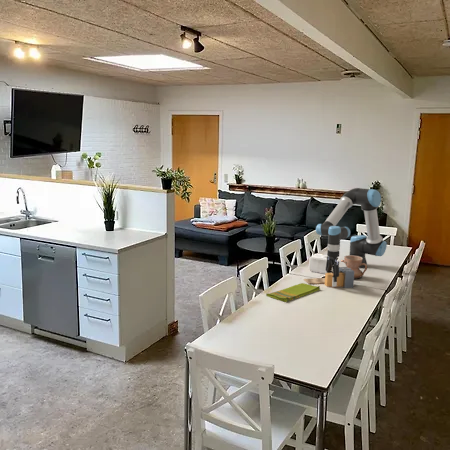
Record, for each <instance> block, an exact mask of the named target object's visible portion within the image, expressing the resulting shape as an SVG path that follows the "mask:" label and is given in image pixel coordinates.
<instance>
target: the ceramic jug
mask: <svg viewBox="0 0 450 450" xmlns="http://www.w3.org/2000/svg"><path fill="white" fill-rule="evenodd" d="M362 259H363V258H362V257H359V256H353V255H349V254H348V255H345V256H344V259H341V260H340V263H344V264H345V267H348V268H351V269H352V270H353V271H354V280H357V279H360V278H362V277H363V276H364V274H365V273H366V271H367V270H368V264H367V265H366V264H365V263H362ZM361 265H364V266H365V268H364V270H363V271H362V270H361V268H359V267H360V266H361Z"/></svg>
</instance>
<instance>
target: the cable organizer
mask: <svg viewBox="0 0 450 450" xmlns="http://www.w3.org/2000/svg"><path fill="white" fill-rule="evenodd" d="M327 257H329V256H327V254H321V253H315V254H313V255H311V256H309V259H308V270H309V271H310V272H311V273H320V274H322V275H325V273H327V271H326V263H327Z"/></svg>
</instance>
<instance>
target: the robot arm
mask: <svg viewBox="0 0 450 450" xmlns="http://www.w3.org/2000/svg"><path fill="white" fill-rule="evenodd" d="M381 203H382V196H381V193H380V192H379V191H378V189H373V188H361V187H354V188H351V189H350V190H348V191H346V192H345V193H344V194H343V195H342V196H340V199H339V202H338V203H337V205H336V206H335V208H333V210H332V211H331V213H330V214H329V216H327V217H326V220H325V221H324V222H323V223H318V224H317V225H316V226H315V232H316V234H317V235H319V236H322V237H328V238H327V245H326V246H327V252H326V253H327V254H326V255H327V256H329V257H327V263H326V271H327V273H333V276H332V277H333V280H332V287H333V288H335V287H338V286H337V277H339V267H340V261H338V258H339V257H340V250H341V248H340V247H341V241H342V240H344V239H347V238H349V237H350V236H351V229H350V228H349V227H348V226H339V225H338V223H339V222H340V220H342V218H343V217H344V215H345V214H346V213H347V211H348V209H350V208H352V207H353V206H354V205H358V206H360V208H361V210H362V211H363V214H364V220H365V226H366V227H365V228H366V235H364V234H361V235H360V234H359V235H352V236H351V237H350V240H349V241H350V242H349V254H348V255H353V256H359V257H362V258H363V259H362V263H365V264H366V265H367V266H368V261H367V259H366V255H371V256H375V257H382V256H384V255H385V253H386V250H387V246H388V245H387V244H388V243H387V241H385V240H383V236H382V235H381V233H380V225H379V219H378V210H377V209H378V208H379V206H380V205H381ZM337 225H338V226H337ZM363 268H364V269H365V266H364V265H361V266H360V267H359V269H363Z"/></svg>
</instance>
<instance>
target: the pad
mask: <svg viewBox="0 0 450 450" xmlns="http://www.w3.org/2000/svg"><path fill="white" fill-rule="evenodd" d="M303 281H304V282H306V284H308V285H325V277H317V278H316V277H313V278H303Z"/></svg>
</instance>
